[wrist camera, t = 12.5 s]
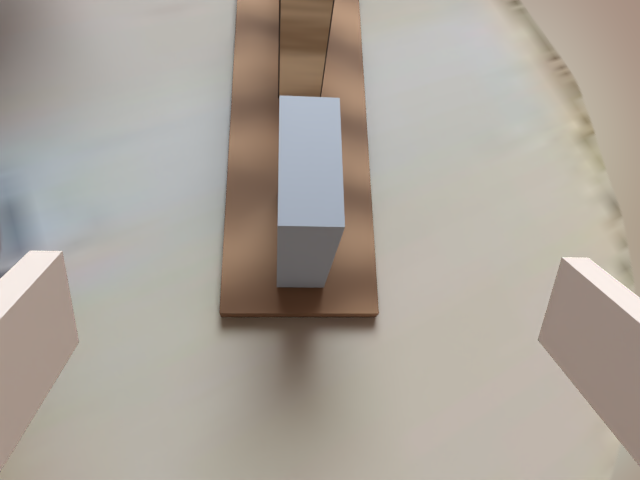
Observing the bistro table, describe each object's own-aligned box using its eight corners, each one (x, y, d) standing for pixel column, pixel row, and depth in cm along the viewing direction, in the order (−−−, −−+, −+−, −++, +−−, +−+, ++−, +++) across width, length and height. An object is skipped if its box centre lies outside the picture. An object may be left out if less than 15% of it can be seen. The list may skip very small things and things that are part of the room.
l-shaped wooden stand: (375, 316, 32) (423, 263, 22) (221, 316, 31) (195, 261, 21) (355, -12, 42) (381, -153, 32) (239, -19, 41) (228, -166, 31)
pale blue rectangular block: (323, 287, 31) (344, 226, 22) (276, 287, 31) (277, 225, 21) (321, 189, 34) (339, 97, 24) (278, 188, 33) (279, 95, 24)
